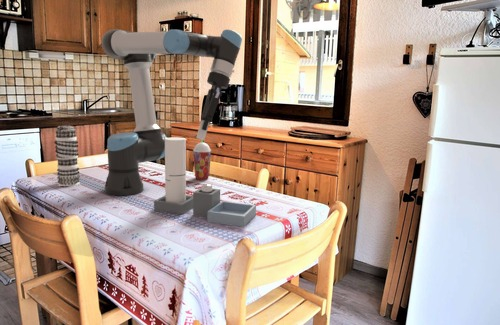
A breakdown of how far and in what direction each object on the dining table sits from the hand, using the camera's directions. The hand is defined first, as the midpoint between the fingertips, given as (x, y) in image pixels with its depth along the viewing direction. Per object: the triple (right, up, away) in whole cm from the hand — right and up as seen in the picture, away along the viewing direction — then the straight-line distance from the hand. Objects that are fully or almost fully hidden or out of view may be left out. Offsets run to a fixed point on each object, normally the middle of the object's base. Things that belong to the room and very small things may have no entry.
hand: (200, 139), depth 135 cm
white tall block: (-9, -25, +4) cm, 27 cm away
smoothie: (-5, -16, +48) cm, 51 cm away
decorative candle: (-60, -18, +31) cm, 70 cm away
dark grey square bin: (-9, -24, +4) cm, 26 cm away
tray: (+11, -27, -5) cm, 30 cm away
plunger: (+3, -20, -2) cm, 20 cm away
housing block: (+2, -26, -1) cm, 26 cm away
